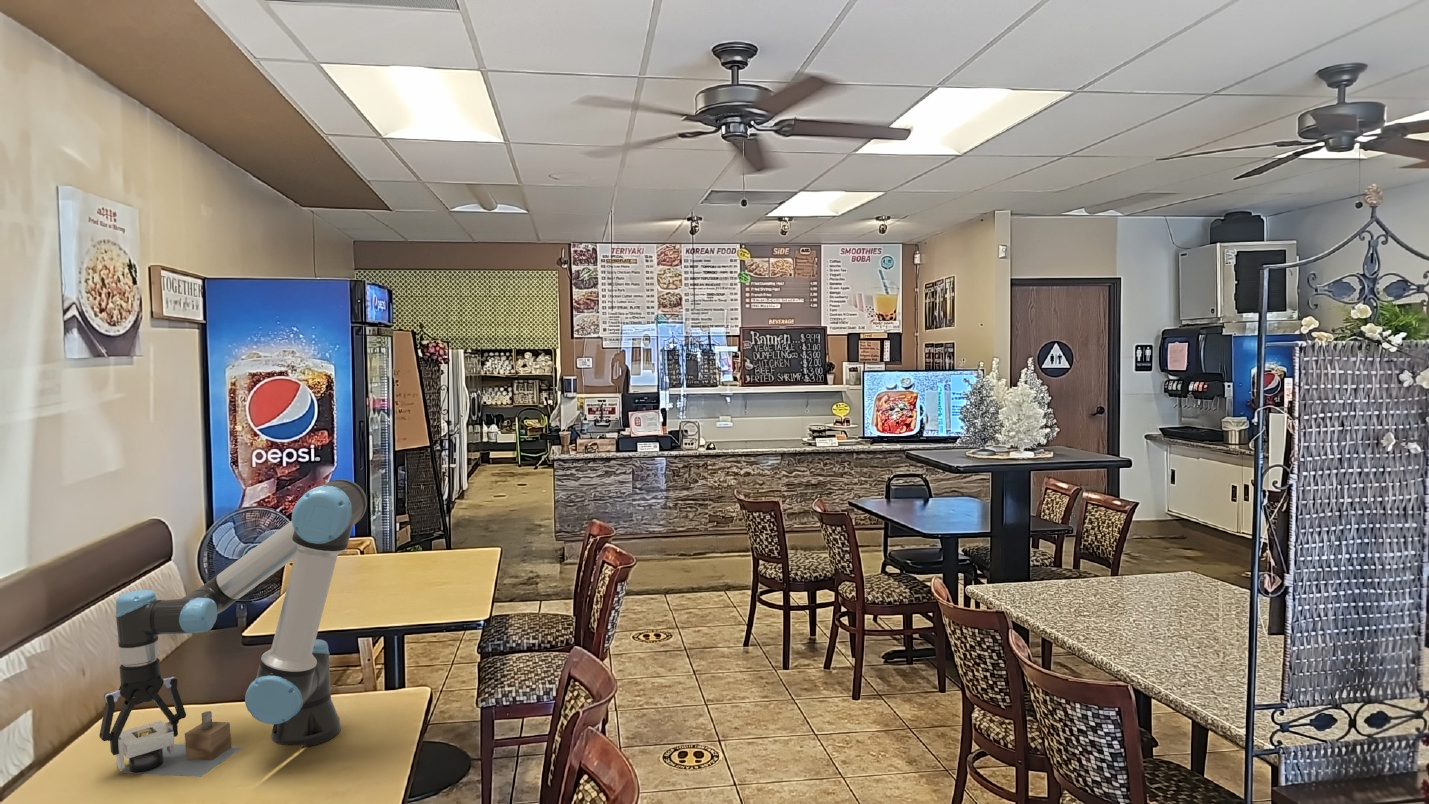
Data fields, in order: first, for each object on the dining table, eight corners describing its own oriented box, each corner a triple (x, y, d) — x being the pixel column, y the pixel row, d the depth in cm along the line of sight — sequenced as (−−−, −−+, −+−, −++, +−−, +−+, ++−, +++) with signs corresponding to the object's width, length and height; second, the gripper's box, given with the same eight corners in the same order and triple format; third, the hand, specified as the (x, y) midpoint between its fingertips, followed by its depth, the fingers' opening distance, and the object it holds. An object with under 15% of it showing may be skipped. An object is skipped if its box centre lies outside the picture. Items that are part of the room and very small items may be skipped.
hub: (170, 759, 202) (167, 725, 201) (148, 773, 195) (146, 738, 195) (144, 758, 203) (142, 724, 202) (122, 771, 196) (119, 736, 196)
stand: (231, 747, 207) (228, 707, 207) (212, 760, 201) (209, 719, 200) (206, 746, 208) (203, 706, 208) (186, 759, 202) (183, 718, 201)
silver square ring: (174, 744, 199) (173, 731, 199) (127, 758, 192) (126, 745, 192) (161, 732, 205) (160, 720, 205) (116, 746, 198) (115, 733, 198)
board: (243, 751, 207) (242, 747, 207) (200, 781, 193) (200, 776, 193) (165, 747, 210) (165, 743, 210) (118, 776, 196) (118, 772, 196)
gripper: (188, 644, 208) (194, 737, 209) (76, 671, 192) (83, 771, 194) (199, 651, 203) (205, 747, 204) (85, 679, 187) (92, 783, 188)
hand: (146, 759), depth 199 cm, fingers closed on silver square ring, 9 cm apart
